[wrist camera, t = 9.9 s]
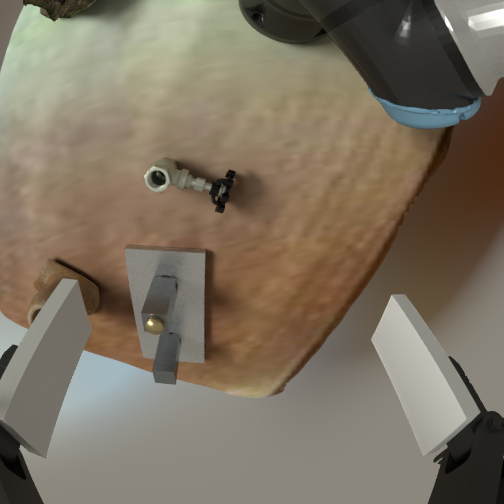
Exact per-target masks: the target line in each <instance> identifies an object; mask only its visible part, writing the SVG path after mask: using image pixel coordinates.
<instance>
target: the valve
mask: <svg viewBox="0 0 504 504" xmlns="http://www.w3.org/2000/svg"><path fill="white" fill-rule="evenodd" d="M159 171H161V172H163V173H164V174H165V176H166V177H165V176H162V175H161V174H160V172H159ZM234 176H235V171H233V170H230V169H229V170H228V172H227V173H226V176H225V177H227V179H218V180H217V181H216V182H215V181H213V183H212V184H210V183H206V182H205V181H206V179H203V178H200V177H197V179H194V178H193V176H192V175H189V170H186V169H182V171H181V170H178V168H177V164H176V160H172V159H169V158H165V157H163V158H162V159H160V160H157V161H155V162H154V163H153V164H152V165H151V166H150V168H149V170H148V172H147V173H146V175H145V176H144V178H145V182H146V185H147V188H148V189H149V190H152V191H155V192H160V193H161V192H162V191H163V190H164V189H165V188H167V187H169V186H171V185H174V186H177V189H180V190H184V188H185V187H187V188H189V187H190V186H193V187H194V190H198V191H201V192H202V191H203V189H205V190H209V191H210V192H209V194H210V195H212V196H211V201H212V202H213V204H215V205H217V206H218V207H217V206H216V209H215V212H219V213H223V212H224V209H225V203H226V202H228V199H229V191H230V188H232V186H233V183H234V180H233V178H234ZM222 183H223V184H222ZM215 196H217V197H218V200H217V201H216V200H215Z"/></svg>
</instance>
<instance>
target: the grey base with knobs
mask: <svg viewBox="0 0 504 504" xmlns="http://www.w3.org/2000/svg"><path fill="white" fill-rule="evenodd" d="M125 257H126V265H127V273H128V279H129V286H130V292H131V298H132V304H133V310H134V315H135V321H136V326H137V331H138V335H139V340H140V345H141V349H142V353H143V358H150V359H155V360H154V364H153V369H152V371H153V375H154V379H155V382H156V383H165V384H176V379H177V371H178V363H179V361H183V362H197V363H204V360H205V340H204V323H205V262H206V249H197V248H180V247H162V246H145V245H126V247H125ZM153 277H169V278H176V290H177V298H176V302H175V307H174V312H173V317H172V321H171V326H170V331H169V334H162V333H161V334H159V335H153V334H150V333H149V332H144V327H143V322H142V316H141V311H142V308H143V305H144V302H145V300H146V297H147V294H148V291H149V288H150V285H151V283H152V280H153Z"/></svg>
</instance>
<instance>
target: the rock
mask: <svg viewBox="0 0 504 504" xmlns="http://www.w3.org/2000/svg"><path fill="white" fill-rule="evenodd" d="M94 2H95V0H23V5H25V6H27V4H33V5H34V6H38V7H40V13H41V14H42V15H44V16H45V17H47V18H50V19H52V20H53V21H54V22H55V21H56V20H58V18H59V17H60V18H71V17H72V16H73V15H74V14H76V13H78V12H80V11H81V10H84V9H86V8H88V7H89V6H90V5H91V4H93V3H94Z"/></svg>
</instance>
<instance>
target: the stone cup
mask: <svg viewBox="0 0 504 504" xmlns="http://www.w3.org/2000/svg"><path fill="white" fill-rule="evenodd" d="M63 278H65V279H74V280H78V283H79V287H80V291H81V294H82V298H83V302H84V305H85V308H86V312H87V315H91V314H93V313H94V312H95V311H96V309H97V307H98V305H99V302H100V295H99V289H98V287H97V286H96V285H95V284H94V283H93V282H91V281H90V280H88V279H87V278H85V277H84V276H82V275H80V274H78V273H76V272H74V271H72V270H71V269H69V268H67V267H65V266H63V265H61V264H59V263H57V262H55V261H53V260H51V259H48V260H47V261H46V263H45V265H44V267H43V269H42V271H41V273H40V274H39V275H38V276H37V277H36V279H35V282H34V288H35V289H36V290H38V291H40V292H38V293H37V294H36V295H35V296H34V297H33V299H32V301H31V303H30V306H29V309H28V314H27V317H28V322H29V325H30V326H31V324H32V323H33V321H34V320H35V318H36V317H37V315H38V313H39V312H40V310H41V309H42V307H43V306H44V304H45V303H46V301H47V300H48V299H49V297H50V296H51V294H52V293H53V291H54V290H55V288H56V287H57V286H58V284H59V283H60V281H61V280H62V279H63Z"/></svg>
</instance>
